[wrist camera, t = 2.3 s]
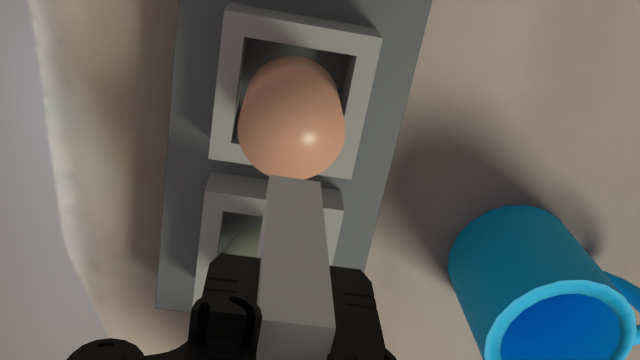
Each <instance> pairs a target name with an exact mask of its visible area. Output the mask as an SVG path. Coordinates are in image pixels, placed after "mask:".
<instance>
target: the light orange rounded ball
mask: <svg viewBox="0 0 640 360" xmlns="http://www.w3.org/2000/svg"><path fill="white" fill-rule="evenodd" d="M237 131H238V139H239V143H240V146H241V149H242V151H243V153H244V155H245V156H246V158H247V159H248V160H249V162H250V163H251V164H252V165H253V166H254V167H256V168H257V169H258V170H259V171H261V172H262V173H264V174H266V175H268V176H270V175H276V176H283V177H290V178H297V179H307V178H311V177H313V176H316V175H318V174H319V173H321V172H323V171H324V170H326V169H327V168H328V167H329V166H330V165H331V164H332V163H333V162H334V161H335V160H336V158H337V157H338V155H339V154H340V152H341V149H342V147H343V144H344V140H345V134H346V127H345V120H344V116H343V112H342V107H341V103H340V99H339V95H338V91H337V87H336V85H335V82H334V80H333V79H332V77H331V75H330V74H329V73H328V72H327V70H325V69H324V68H323V67H322V66H321V65H320V64H318V63H317V62H315V61H313V60H311V59H308V58H305V57H301V56H282V57H278V58H275V59H273V60H270V61H268V62H267V63H265V64H264V65H262V66H261V67H260V68H259V69H258V70H257V71H256V72H255V73H254V75H253V76H252V77H251V79H250V81H249V83H248V86H247V89H246V93H245V97H244V100H243V104H242V108H241V112H240V116H239V120H238V130H237Z"/></svg>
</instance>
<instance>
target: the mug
mask: <svg viewBox="0 0 640 360" xmlns="http://www.w3.org/2000/svg"><path fill="white" fill-rule="evenodd" d="M448 273H449V276H450V279H451V283H452V286H453V288H454V291H455V293H456V295H457V298H458V300H459V302H460V305H461V307H462V310H463V312H464V314H465V317H466V319H467V322H468V324H469V326H470V329H471V331H472V333H473V336H474V338H475V341H476V343H477V345H478V348H479V350H480V353H481V355H482V357H483V360H625V358H626V357H627V355H628V354H629V353H630V351H631V350H632V346H633V345H637V344H640V325H636V321H635V313H634V311H633V309H632V308H631V306H630V305H629V304H631V305H632V306H633V307H634V308H635V309H636V310H637V311H638V312H640V288H638V287H637V286H635V285H633V284H631V283H630V282H628V281H626V280H624V279H622V278H620V277H617V276H615V275H612V274H610V273H608V272H605V271H602V270H601V269H600V267H599V266H598V265H597V264H596V263H595V261H594V260H593V259H592V258H591V257H590V256H589V254H588V253H587V252H586V251H585V250H584V249H583V247H582V246H581V245H580V244H579V243H578V241H577V240H576V239H575V238H574V237H573V236H572V234H571V233H570V232H569V231H568V230H567V229H566V227H565V226H564V225H563V224H562V223H561V221H560V220H559V219H557V218H556V217H554V216H553V215H552V214H550V213H549V212H547V211H546V210H543V209H540V208H536V207H532V206H529V205H512V206H504V207H501V208H498V209H495V210H491V211H488V212H486V213H484V214H483V215H481V216H480V217H478V218H476V219H475V220H473V221H472V222H470V223H469V224H468V225H467V226H466V227H465V229H464V230H463V231H462V232H461V233H460V234H459V235H458V236H457V238H456V240H455V242H454V244H453V246H452V248H451V250H450V253H449V260H448Z"/></svg>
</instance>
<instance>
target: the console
mask: <svg viewBox="0 0 640 360" xmlns="http://www.w3.org/2000/svg"><path fill="white" fill-rule="evenodd" d="M431 3H432V0H178V12H177V26H176V39H175V52H174V66H173V79H172V92H171V106H170V119H169V133H168V146H167V159H166V173H165V186H164V199H163V213H162V226H161V240H160V253H159V266H158V280H157V293H156V306H155V308H156V309H164V310H173V311H181V312H190V313H191V309H192V307H193V305H194V304H195V302H196V301H197V300H198V299H200V298H201V297H202V293H203V289H204V284H205V280H206V276H207V272H208V267H209V263H210V262H212V261H213V260H214V259H215V258H216V257H217V256H218V255H219V254H220V253H225V252H226V249H227V247H228V245H229V243H230V242H231V241H232V240H233V239H234V238H235V237H236V236H237V235H238V234H240V233H241V232H243V231H245V230H248V229H250V228H254V227H260V226H262V220H263V214H264V208H265V201H266V195H267V188H268V182H269V176H268V175H266V174H264V173H262V172H261V171H259V170H258V169H257V168H256V167H254V166H253V165H252V164H251V163H250V162H249V160H248V159H247V158H246V156H245V155H244V153H243V151H242V149H241V146H240V143H239V139H238V131H237V130H238V120H239V116H240V112H241V108H242V104H243V100H244V97H245V93H246V89H247V86H248V83H249V81H250V79H251V77H252V76H253V75H254V73H255V72H256V71H257V70H258V69H259V68H260V67H261V66H262V65H264V64H265V63H267V62H268V61H270V60H273V59H275V58H278V57H282V56H301V57H305V58H308V59H311V60H313V61H315V62H317V63H318V64H320V65H321V66H322V67H323V68H324V69H325V70H327V72H328V73H329V74H330V75H331V77H332V79H333V80H334V82H335V85H336V87H337V91H338V95H339V99H340V103H341V107H342V112H343V116H344V120H345V127H346V134H345V140H344V144H343V147H342V149H341V152H340V154H339V155H338V157H337V158H336V160H335V161H334V162H333V163H332V164H331V165H330V166H329V167H328V168H327V169H326V170H324V171H323V172H321V173H319V174H318V175H316V176H313V177H311V178H307V179H304V180H311V181H317V182H321V192H322V201H323V210H324V220H325V229H326V239H327V248H328V258H329V265H330V266H338V267H346V268H353V269H361V270H362V272H363V273H364V269H365V266H366V262H367V258H368V254H369V250H370V246H371V242H372V238H373V234H374V230H375V226H376V222H377V218H378V214H379V210H380V206H381V202H382V198H383V194H384V190H385V186H386V182H387V178H388V174H389V170H390V166H391V162H392V158H393V154H394V150H395V146H396V142H397V138H398V134H399V130H400V126H401V122H402V118H403V114H404V110H405V106H406V103H407V99H408V95H409V91H410V87H411V83H412V79H413V75H414V71H415V67H416V63H417V59H418V55H419V51H420V47H421V43H422V39H423V35H424V31H425V27H426V23H427V19H428V15H429V11H430V7H431Z"/></svg>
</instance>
